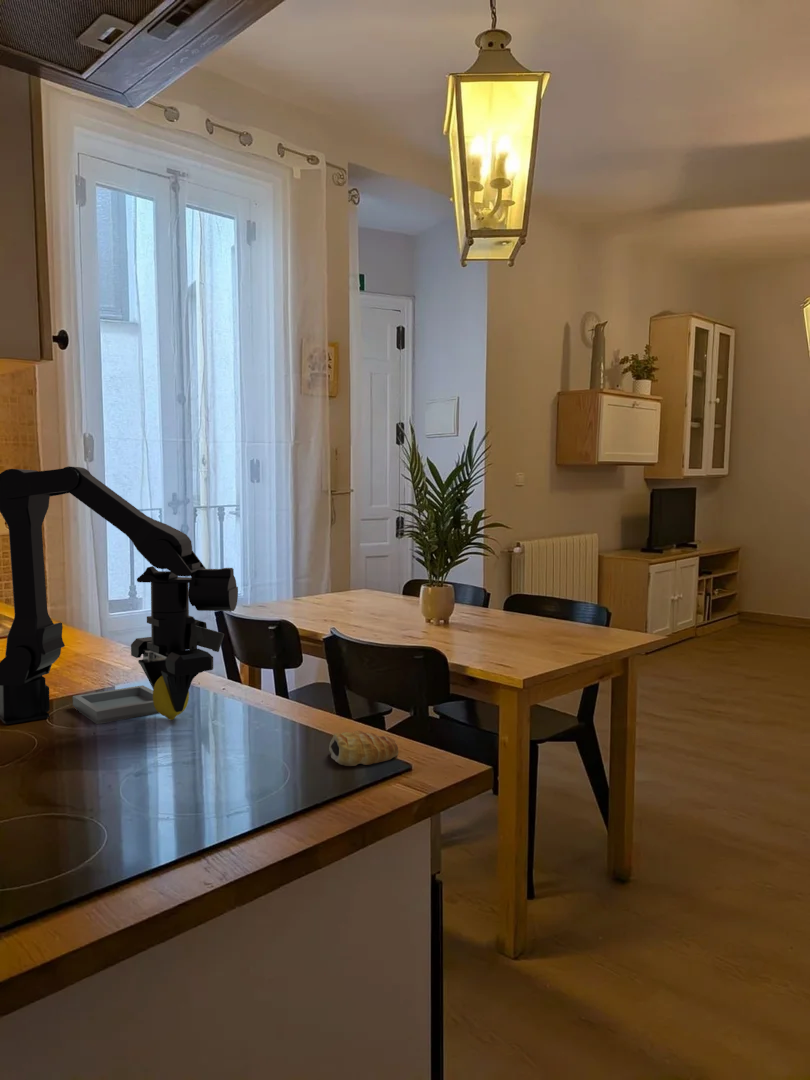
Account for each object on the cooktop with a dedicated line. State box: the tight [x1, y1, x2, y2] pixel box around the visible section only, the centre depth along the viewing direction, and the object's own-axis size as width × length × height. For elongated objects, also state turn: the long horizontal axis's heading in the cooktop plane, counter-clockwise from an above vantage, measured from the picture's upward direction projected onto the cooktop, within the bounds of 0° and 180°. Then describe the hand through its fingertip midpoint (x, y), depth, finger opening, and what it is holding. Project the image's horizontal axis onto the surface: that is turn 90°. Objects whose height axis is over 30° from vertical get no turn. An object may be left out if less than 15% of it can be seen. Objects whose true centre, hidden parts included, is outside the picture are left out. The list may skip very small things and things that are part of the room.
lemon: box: [152, 676, 190, 721], centre depth 124 cm, size 6×6×8 cm
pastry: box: [328, 730, 399, 767], centre depth 107 cm, size 9×7×4 cm
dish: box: [72, 685, 159, 725], centre depth 130 cm, size 12×12×2 cm
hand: (171, 707), depth 124 cm, fingers closed on lemon, 5 cm apart
